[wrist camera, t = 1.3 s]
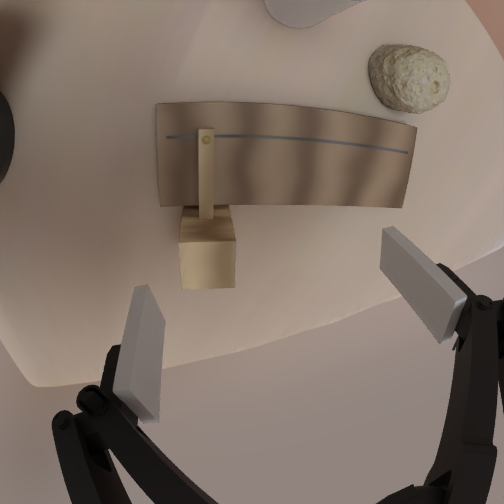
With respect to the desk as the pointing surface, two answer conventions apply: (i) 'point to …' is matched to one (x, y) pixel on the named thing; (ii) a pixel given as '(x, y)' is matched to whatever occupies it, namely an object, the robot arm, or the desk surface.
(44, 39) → the desk surface
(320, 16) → the cylindrical container
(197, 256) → the wooden lever on block
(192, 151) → the board
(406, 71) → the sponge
